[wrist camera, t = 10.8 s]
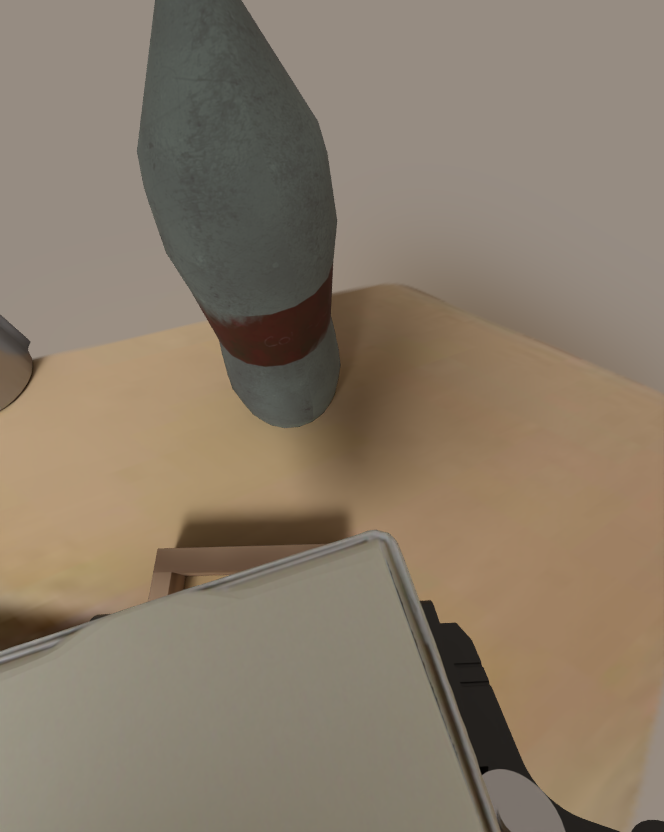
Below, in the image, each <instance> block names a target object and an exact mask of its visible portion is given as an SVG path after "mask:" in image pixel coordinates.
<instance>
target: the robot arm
mask: <svg viewBox="0 0 664 832" xmlns="http://www.w3.org/2000/svg"><path fill="white" fill-rule="evenodd" d="M29 344H30V341H29V340H28V339H27V338H26V337H25V336H24V335H23V334H21V333H20V332H19V331H18V330H17V329H16V328H15V327H13V326H12V325H11V324H10V323H9V322H8V321H7V320H6V319H5V318H3V317H2V316H1V315H0V410H1V409H3V408H5V407H6V406H7V405H8V404H10V403H11V402H12V401H13V400H14V399H15V398H16V397H17V396H18V395H19V394H20V393H21V392H22V391H23V389H24V387H25V386H26V384H27V383H28V381H29V378H30V376H31V373H32V367H33V364H32V358H31V356H30V354H29V352H28V346H29ZM420 603H421V606H422V609H423V611H424V614H425V617H426V619H427V622H428V624H429V627H430V630H431V632H432V635H433V638H434V640H435V643H436V646H437V649H438V651H439V654H440V657H441V660H442V663H443V666H444V669H445V673H446V676H447V679H448V681H449V684H450V686H451V689H452V691H453V694H454V697H455V700H456V703H457V706H458V709H459V712H460V715H461V718H462V720H463V723H464V725H465V727H466V730H467V734H468V737H469V740H470V742H471V745H472V748H473V750H474V753H475V755H476V758H477V762H478V765H479V769H480V772H481V774H482V777H483V780H484V782H485V785H486V788H487V791H488V794H489V797H490V800H491V803H492V806H493V809H494V812H495V815H496V818H497V821H498V824H499V827H500V830H501V832H619V831H617V830H614V829H611V828H608V827H605V826H602V825H599V824H597V823H594V822H591V821H588V820H585V819H582V818H580V817H578V816H575V815H573V814H571V813H570V812H568V811H566V810H564V809H563V808H562V807H560V806H559V805H557V804H556V803H555V802H554V801H552V800H551V799H550V798H549V797H548V796H547V795H546V794H545V793H544V792H543V791H542V790H541V789H540V788H539V787H538V785H537V784H536V783H535V781H534V780H533V779H532V777H531V776H530V774H529V773H528V771H527V769H526V767H525V765H524V763H523V761H522V759H521V756H520V754H519V752H518V749H517V747H516V744H515V742H514V740H513V737H512V735H511V732H510V730H509V728H508V725H507V723H506V720H505V718H504V716H503V713H502V711H501V708H500V706H499V704H498V701H497V699H496V697H495V694H494V692H493V689H492V687H491V686H490V684H489V680H488V677H487V675H486V673H485V670H484V668H483V667H482V665H481V661H480V658H479V656H478V654H477V651H476V649H475V646H474V644H473V642H472V640H471V639H470V638H469V637H468V635H467V634H466V633H465V632H464V631H463V630H462V629H461V628H460V627H459V626H458V624H457V623H440V622H439V619H438V616H437V614H436V611H435V608H434V605H433V603H432V601H431V600H428V601H420ZM107 615H110V614H101V615H96V616H94V617H93V618H92V619H91V620H90V621H93V620H96V619H99V618H101V617H104V616H107ZM90 621H89V622H90ZM632 832H664V822H663V821H659V820H647V821H643V822H640V823H639V824H637V825H636V826H635V827H634V828H633V830H632Z"/></svg>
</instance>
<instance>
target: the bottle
mask: <svg viewBox="0 0 664 832" xmlns="http://www.w3.org/2000/svg"><path fill="white" fill-rule="evenodd" d="M137 154H138V159H139V164H140V169H141V174H142V180H143V185H144V189H145V192H146V195H147V198H148V202H149V205H150V207H151V210H152V213H153V216H154V219H155V222H156V225H157V228H158V230H159V233H160V236H161V239H162V242H163V245H164V248H165V251H166V253H167V255H168V256H169V258H170V259H171V261H172V262H173V264H174V266H175V267H176V269H177V270H178V272H179V273H180V275H181V276H182V278H183V280H184V281H185V283H186V284H187V286H188V287H189V289H190V290H191V292H192V294H193V296H194V297H195V299H196V301H197V303H198V304H199V306H200V308H201V310H202V311H203V313H204V315H205V316H206V318H207V320H208V322H209V323H210V325H211V327H212V328H213V330H214V332H215V334H216V335H217V337H218V339H219V342H220V347H221V351H222V355H223V359H224V363H225V366H226V370H227V374H228V377H229V379H230V382H231V385H232V388H233V390H234V391H235V392H236V394H237V395H238V396H239V398H240V399H241V400H242V402H243V403H244V404H245V405H246V407H247V408H248V409H249V410H250V411H251V412H252V413H253V414H254V415H255V416H257V417H258V418H259V419H261V420H263V421H265V422H266V423H268V424H270V425H273V426H278V427H282V428H290V427H300V426H302V425H305V424H307V423H310V422H312V421H314V420H315V419H316V418H318V417H319V416H320V415H321V414H323V413H324V411H325V410H326V408H327V407H328V405H329V404H330V402H331V400H332V398H333V397H334V394H335V390H336V386H337V382H338V377H339V371H340V357H339V349H338V344H337V340H336V335H335V330H334V326H333V322H332V318H331V296H332V275H333V258H334V246H335V236H336V226H337V217H336V210H335V203H334V196H333V189H332V182H331V175H330V168H329V161H328V155H327V150H326V147H325V144H324V140H323V137H322V134H321V130H320V127H319V123H318V121H317V119H316V118H315V116H314V114H313V113H312V111H311V110H310V108H309V107H308V105H307V103H306V102H305V100H304V99H303V97H302V95H301V94H300V92H299V91H298V89H297V87H296V86H295V84H294V83H293V81H292V80H291V78H290V76H289V75H288V73H287V72H286V70H285V69H284V67H283V66H282V64H281V62H280V61H279V59H278V57H277V56H276V54H275V53H274V51H273V50H272V48H271V47H270V45H269V43H268V42H267V40H266V39H265V37H264V35H263V34H262V32H261V31H260V29H259V28H258V26H257V24H256V23H255V21H254V20H253V18H252V16H251V15H250V13H249V12H248V10H247V8H246V7H245V5H244V4H243V2H242V1H241V0H155V7H154V15H153V23H152V32H151V39H150V48H149V56H148V64H147V73H146V81H145V89H144V97H143V106H142V114H141V123H140V131H139V139H138V147H137Z"/></svg>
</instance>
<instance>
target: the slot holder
mask: <svg viewBox="0 0 664 832" xmlns="http://www.w3.org/2000/svg"><path fill="white" fill-rule="evenodd" d="M323 545H326V544H305V545H270V546H235V547H199V548H164V549H158V550H157V555H156V561H155V566H154V571H153V577H152V582H151V588H150V593H149V598H148V602H149V601H152V600H155V599H158V598H161V597H164V596H167V595H170V594H173V593H176V592H179V591H182V590H184V584H185V577H186V576H208V575H232V574H235V573H238V572H241V571H244V570H247V569H251V568H254V567H257V566H260V565H263V564H266V563H269V562H272V561H276V560H279V559H282V558H285V557H288V556H291V555H294V554H297V553H300V552H303V551H307V550H310V549H313V548H316V547H320V546H323Z"/></svg>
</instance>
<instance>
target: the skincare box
mask: <svg viewBox="0 0 664 832" xmlns="http://www.w3.org/2000/svg"><path fill="white" fill-rule="evenodd" d="M0 832H501V830H500V827H499V824H498V821H497V818H496V815H495V812H494V809H493V806H492V803H491V800H490V797H489V794H488V791H487V788H486V785H485V782H484V780H483V777H482V774H481V772H480V769H479V765H478V762H477V758H476V755H475V753H474V750H473V748H472V745H471V742H470V740H469V737H468V734H467V730H466V727H465V725H464V723H463V720H462V718H461V715H460V712H459V709H458V706H457V703H456V700H455V697H454V694H453V691H452V689H451V686H450V684H449V681H448V679H447V676H446V673H445V669H444V666H443V663H442V660H441V657H440V654H439V651H438V649H437V646H436V643H435V640H434V638H433V635H432V632H431V630H430V627H429V624H428V622H427V619H426V617H425V614H424V611H423V609H422V606H421V603H420V601H419V598H418V595H417V593H416V590H415V587H414V584H413V582H412V579H411V576H410V574H409V571H408V568H407V565H406V563H405V560H404V557H403V555H402V552H401V550H400V548H399V545H398V543H397V541H396V540H395V538H393V537H392V536H391V535H390V534H389V533H386V532H383V531H379V530H370V531H366V532H363V533H361V534H358V535H355V536H352V537H348V538H345V539H342V540H339V541H336V542H333V543H329V544H326V545H323V546H320V547H316V548H313V549H310V550H307V551H303V552H300V553H297V554H294V555H291V556H288V557H285V558H282V559H279V560H276V561H272V562H269V563H266V564H263V565H260V566H257V567H254V568H251V569H247V570H244V571H241V572H238V573H235V574H232V575H229V576H226V577H223V578H220V579H218V580H215V581H211V582H208V583H205V584H201V585H198V586H194V587H191V588H188V589H185V590H182V591H179V592H176V593H173V594H170V595H167V596H164V597H161V598H158V599H155V600H152V601H149V602H146V603H143V604H140V605H137V606H134V607H131V608H128V609H125V610H122V611H119V612H116V613H113V614H110V615H107V616H104V617H101V618H99V619H96V620H93V621H90V622H87V623H84V624H81V625H78V626H75V627H72V628H69V629H66V630H63V631H60V632H57V633H54V634H51V635H48V636H45V637H42V638H39V639H37V640H34V641H30V642H27V643H24V644H21V645H18V646H15V647H12V648H9V649H6V650H3V651H0Z"/></svg>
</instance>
